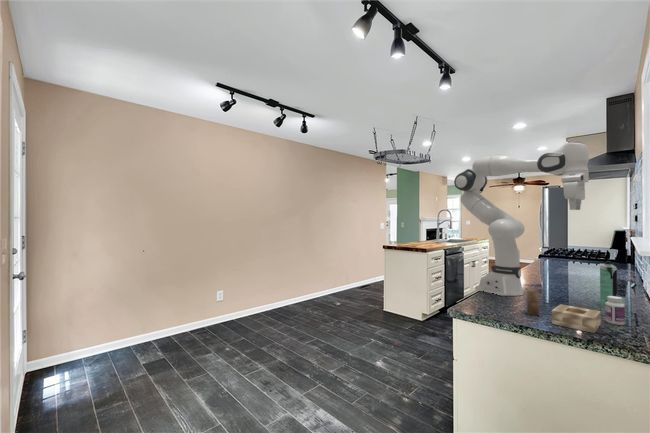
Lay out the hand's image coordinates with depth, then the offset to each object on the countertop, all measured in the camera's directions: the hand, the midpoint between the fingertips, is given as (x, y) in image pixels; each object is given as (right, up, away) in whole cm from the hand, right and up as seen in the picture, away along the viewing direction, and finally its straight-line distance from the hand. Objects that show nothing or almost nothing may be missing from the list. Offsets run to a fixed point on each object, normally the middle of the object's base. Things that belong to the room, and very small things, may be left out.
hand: (575, 209), depth 131 cm
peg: (-25, -43, -9) cm, 51 cm away
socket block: (-17, -43, -20) cm, 51 cm away
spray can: (+16, -43, +1) cm, 46 cm away
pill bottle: (-1, -43, -19) cm, 47 cm away
